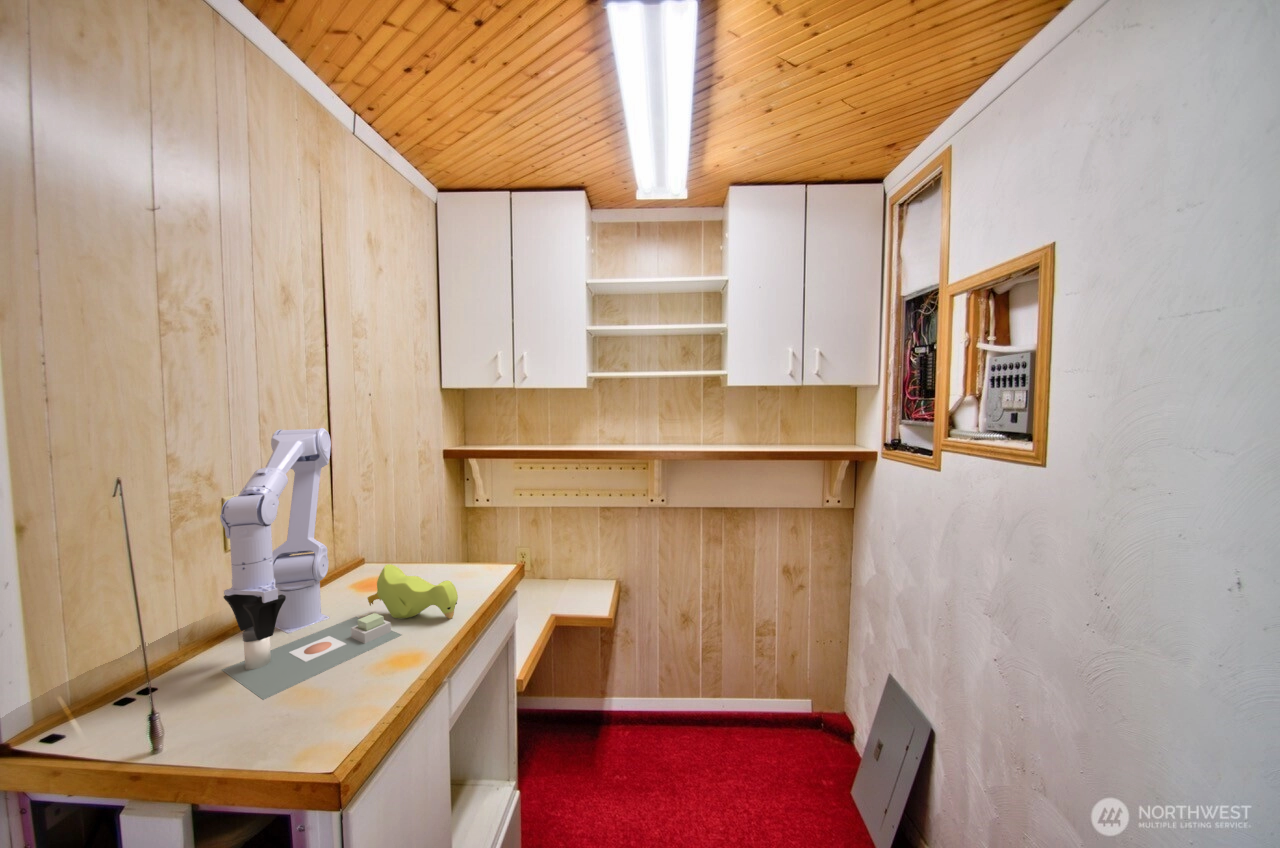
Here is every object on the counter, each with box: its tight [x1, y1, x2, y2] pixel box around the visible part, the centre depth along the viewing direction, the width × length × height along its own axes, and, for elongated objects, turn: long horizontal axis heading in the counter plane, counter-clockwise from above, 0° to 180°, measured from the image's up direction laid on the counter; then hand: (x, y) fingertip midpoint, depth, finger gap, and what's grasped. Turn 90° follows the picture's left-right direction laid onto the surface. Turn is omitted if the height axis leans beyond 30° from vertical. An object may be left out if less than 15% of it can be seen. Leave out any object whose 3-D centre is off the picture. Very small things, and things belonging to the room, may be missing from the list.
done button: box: [358, 612, 385, 631], centre depth 90 cm, size 3×3×2 cm
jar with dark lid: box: [242, 627, 271, 670], centre depth 81 cm, size 4×4×7 cm
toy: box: [367, 563, 459, 619], centre depth 99 cm, size 6×17×20 cm
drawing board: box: [221, 616, 403, 701], centre depth 85 cm, size 18×23×2 cm
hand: (256, 632), depth 80 cm, fingers open, 7 cm apart
